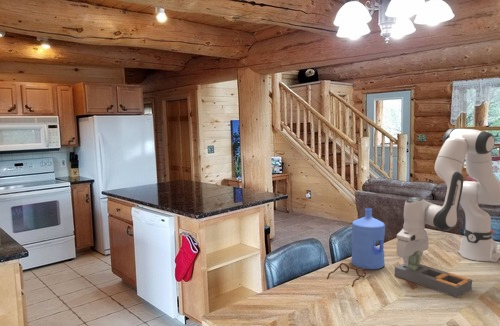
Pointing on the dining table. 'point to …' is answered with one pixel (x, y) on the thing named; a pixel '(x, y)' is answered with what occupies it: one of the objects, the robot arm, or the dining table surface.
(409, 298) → the dining table surface
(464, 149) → the robot arm
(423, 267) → the board
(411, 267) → the peg
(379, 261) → the water jug
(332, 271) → the glasses
